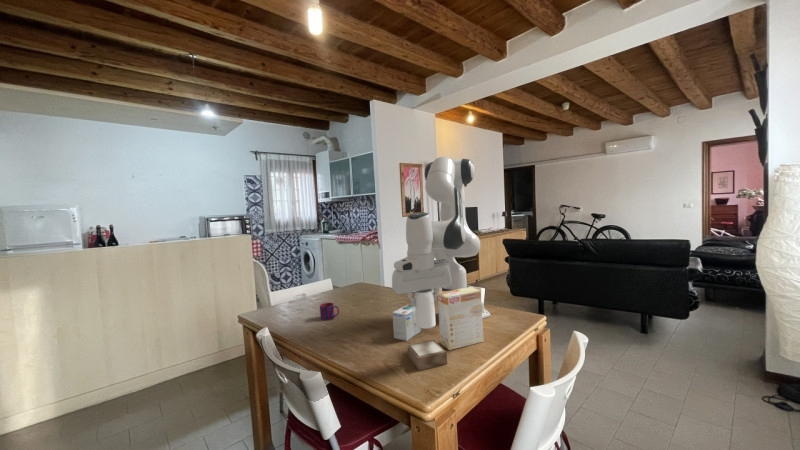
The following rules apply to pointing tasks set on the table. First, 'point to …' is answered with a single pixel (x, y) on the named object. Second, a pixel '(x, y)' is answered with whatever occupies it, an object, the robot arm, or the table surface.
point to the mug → (327, 311)
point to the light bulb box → (405, 323)
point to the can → (425, 309)
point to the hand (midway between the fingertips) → (423, 303)
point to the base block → (427, 355)
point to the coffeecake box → (460, 317)
